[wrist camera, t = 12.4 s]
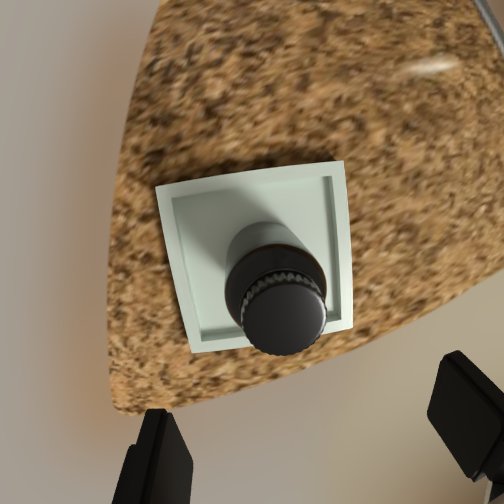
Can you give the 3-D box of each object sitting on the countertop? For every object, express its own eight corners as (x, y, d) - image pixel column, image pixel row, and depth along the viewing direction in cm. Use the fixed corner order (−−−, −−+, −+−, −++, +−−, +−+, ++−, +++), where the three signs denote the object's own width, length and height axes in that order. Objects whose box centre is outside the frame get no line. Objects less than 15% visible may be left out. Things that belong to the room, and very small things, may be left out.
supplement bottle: (215, 277, 28) (202, 349, 16) (244, 208, 27) (250, 237, 15) (283, 303, 29) (309, 381, 17) (314, 238, 28) (366, 285, 16)
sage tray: (160, 185, 26) (155, 186, 25) (336, 161, 26) (343, 160, 25) (194, 343, 30) (192, 353, 29) (347, 319, 31) (352, 327, 29)
